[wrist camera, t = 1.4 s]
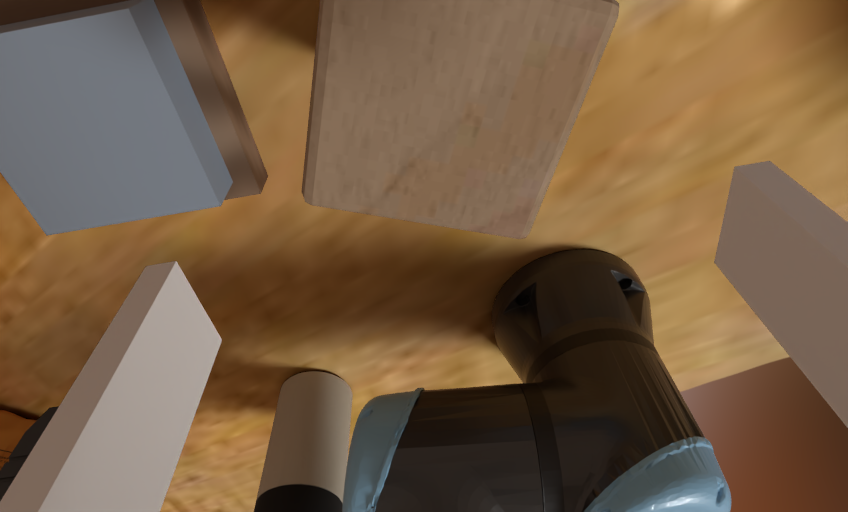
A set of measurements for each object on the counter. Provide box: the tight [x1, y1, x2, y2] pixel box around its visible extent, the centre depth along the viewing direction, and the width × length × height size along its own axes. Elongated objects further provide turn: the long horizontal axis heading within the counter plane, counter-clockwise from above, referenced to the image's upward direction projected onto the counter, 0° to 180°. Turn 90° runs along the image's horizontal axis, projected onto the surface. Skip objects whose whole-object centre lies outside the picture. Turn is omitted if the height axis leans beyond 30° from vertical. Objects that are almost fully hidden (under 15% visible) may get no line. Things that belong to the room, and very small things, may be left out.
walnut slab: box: [0, 0, 268, 200], centre depth 37 cm, size 16×16×4 cm
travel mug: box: [254, 371, 352, 512], centre depth 52 cm, size 8×8×18 cm
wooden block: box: [302, 0, 619, 239], centre depth 27 cm, size 10×10×20 cm
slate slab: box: [0, 0, 233, 235], centre depth 35 cm, size 13×13×4 cm
